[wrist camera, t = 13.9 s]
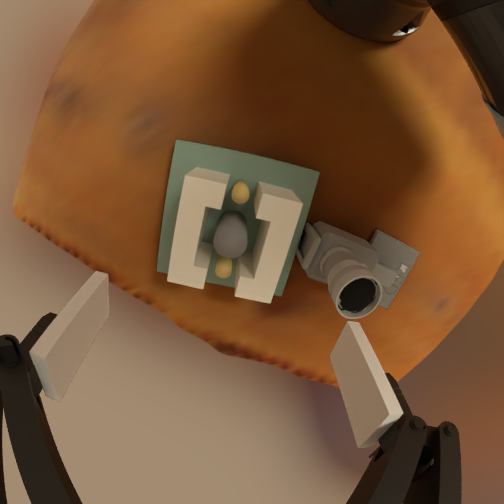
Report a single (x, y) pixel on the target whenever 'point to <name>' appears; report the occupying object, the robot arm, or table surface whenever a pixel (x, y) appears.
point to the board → (233, 206)
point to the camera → (355, 267)
